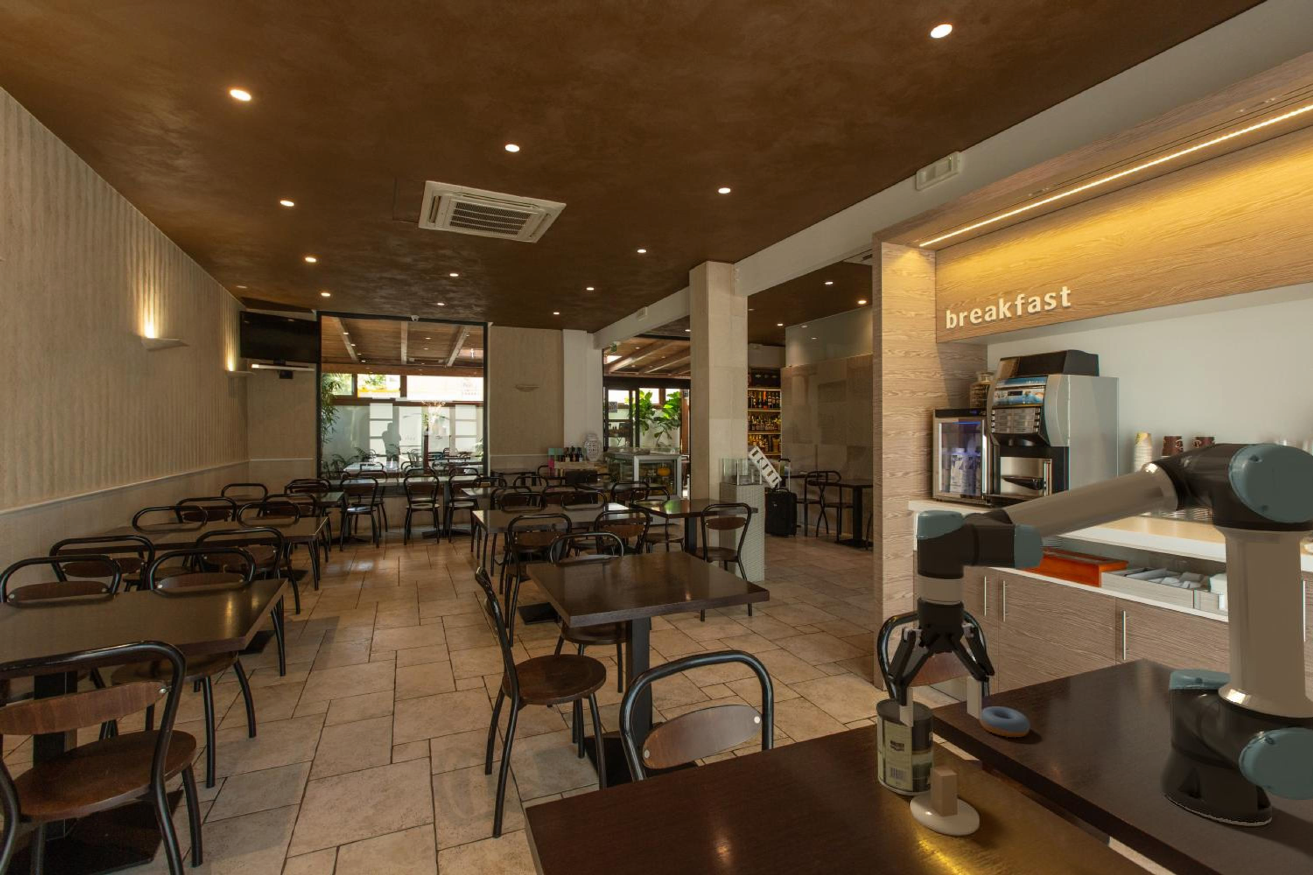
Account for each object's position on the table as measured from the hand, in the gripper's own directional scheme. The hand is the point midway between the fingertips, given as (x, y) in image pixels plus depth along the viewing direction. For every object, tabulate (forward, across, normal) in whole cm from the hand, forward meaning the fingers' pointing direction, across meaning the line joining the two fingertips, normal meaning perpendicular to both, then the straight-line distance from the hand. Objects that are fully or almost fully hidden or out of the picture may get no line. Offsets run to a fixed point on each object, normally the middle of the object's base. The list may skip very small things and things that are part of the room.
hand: (940, 719), depth 109 cm
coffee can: (+17, 0, -11) cm, 20 cm away
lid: (+17, 0, 0) cm, 17 cm away
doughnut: (+17, -35, -25) cm, 46 cm away
